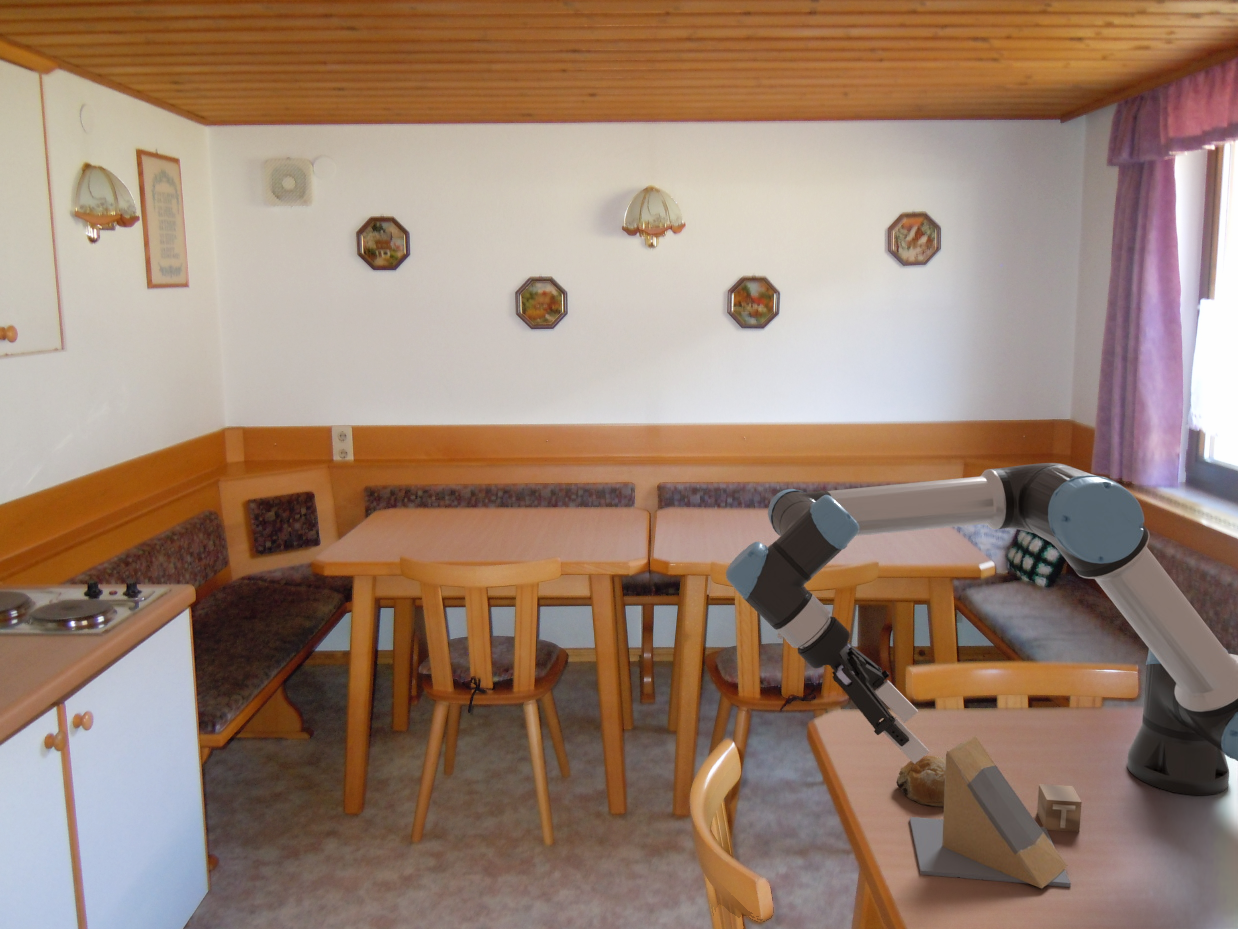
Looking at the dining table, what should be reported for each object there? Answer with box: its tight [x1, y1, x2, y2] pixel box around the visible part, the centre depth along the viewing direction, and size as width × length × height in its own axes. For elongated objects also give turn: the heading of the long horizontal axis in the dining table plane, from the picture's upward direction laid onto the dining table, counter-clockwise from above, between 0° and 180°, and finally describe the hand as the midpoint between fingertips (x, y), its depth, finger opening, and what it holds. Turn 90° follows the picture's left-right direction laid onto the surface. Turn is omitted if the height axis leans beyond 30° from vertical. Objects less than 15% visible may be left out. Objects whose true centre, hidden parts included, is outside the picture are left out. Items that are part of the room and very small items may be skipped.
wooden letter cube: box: [1036, 783, 1083, 833], centre depth 159 cm, size 5×5×5 cm
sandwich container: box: [942, 735, 1069, 889], centre depth 148 cm, size 9×15×15 cm, turn 43°
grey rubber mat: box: [909, 816, 1072, 888], centre depth 151 cm, size 20×15×1 cm
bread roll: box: [896, 755, 946, 808], centre depth 168 cm, size 10×10×8 cm
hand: (916, 736), depth 150 cm, fingers open, 13 cm apart
